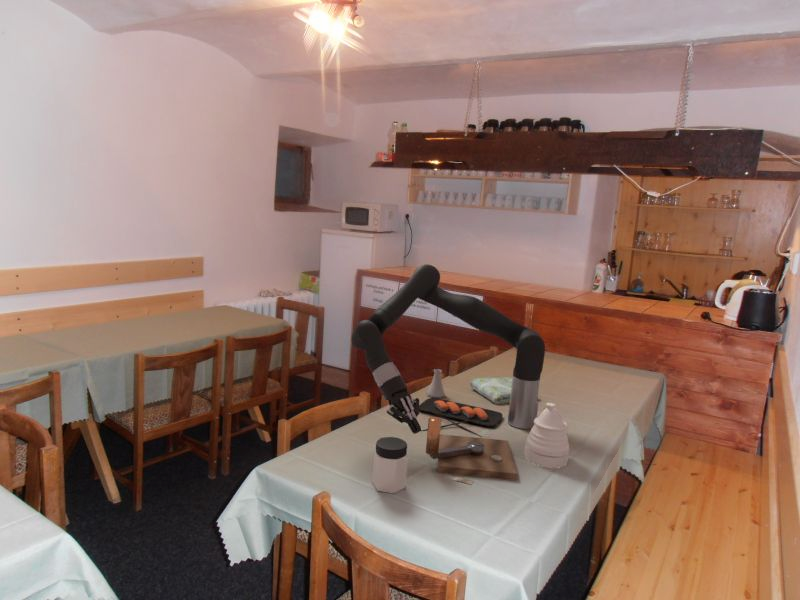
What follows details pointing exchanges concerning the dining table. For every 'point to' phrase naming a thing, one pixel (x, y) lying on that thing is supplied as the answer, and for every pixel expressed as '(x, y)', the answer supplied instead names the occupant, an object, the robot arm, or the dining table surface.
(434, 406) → the sushi plate
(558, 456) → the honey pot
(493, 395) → the towel
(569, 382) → the dining table surface
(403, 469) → the jar
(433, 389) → the flask
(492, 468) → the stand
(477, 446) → the lever
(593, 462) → the dining table surface
